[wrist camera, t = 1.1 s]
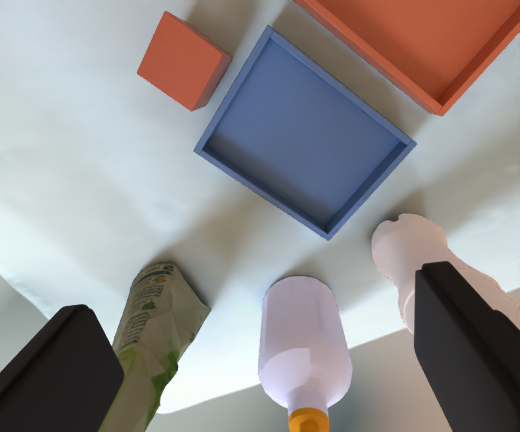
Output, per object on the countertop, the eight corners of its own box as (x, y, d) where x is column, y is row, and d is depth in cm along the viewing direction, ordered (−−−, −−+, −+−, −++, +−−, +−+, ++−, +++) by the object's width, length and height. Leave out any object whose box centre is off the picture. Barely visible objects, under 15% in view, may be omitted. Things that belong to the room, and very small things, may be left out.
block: (158, 73, 28) (135, 73, 24) (184, 21, 27) (164, 9, 22) (205, 106, 29) (191, 111, 25) (233, 57, 28) (223, 54, 23)
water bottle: (422, 195, 32) (778, 495, 9) (441, 249, 34) (760, 594, 11) (355, 223, 33) (512, 533, 11) (378, 273, 36) (545, 612, 13)
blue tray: (199, 145, 31) (192, 151, 29) (268, 29, 26) (267, 24, 24) (325, 230, 34) (328, 241, 32) (407, 138, 30) (417, 143, 27)
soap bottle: (291, 341, 41) (303, 657, 19) (248, 296, 38) (203, 601, 16) (349, 311, 38) (445, 637, 16) (308, 260, 36) (353, 566, 13)
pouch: (200, 252, 36) (65, 548, 13) (229, 327, 41) (165, 644, 18) (115, 268, 38) (-131, 556, 15) (152, 339, 43) (6, 641, 20)
